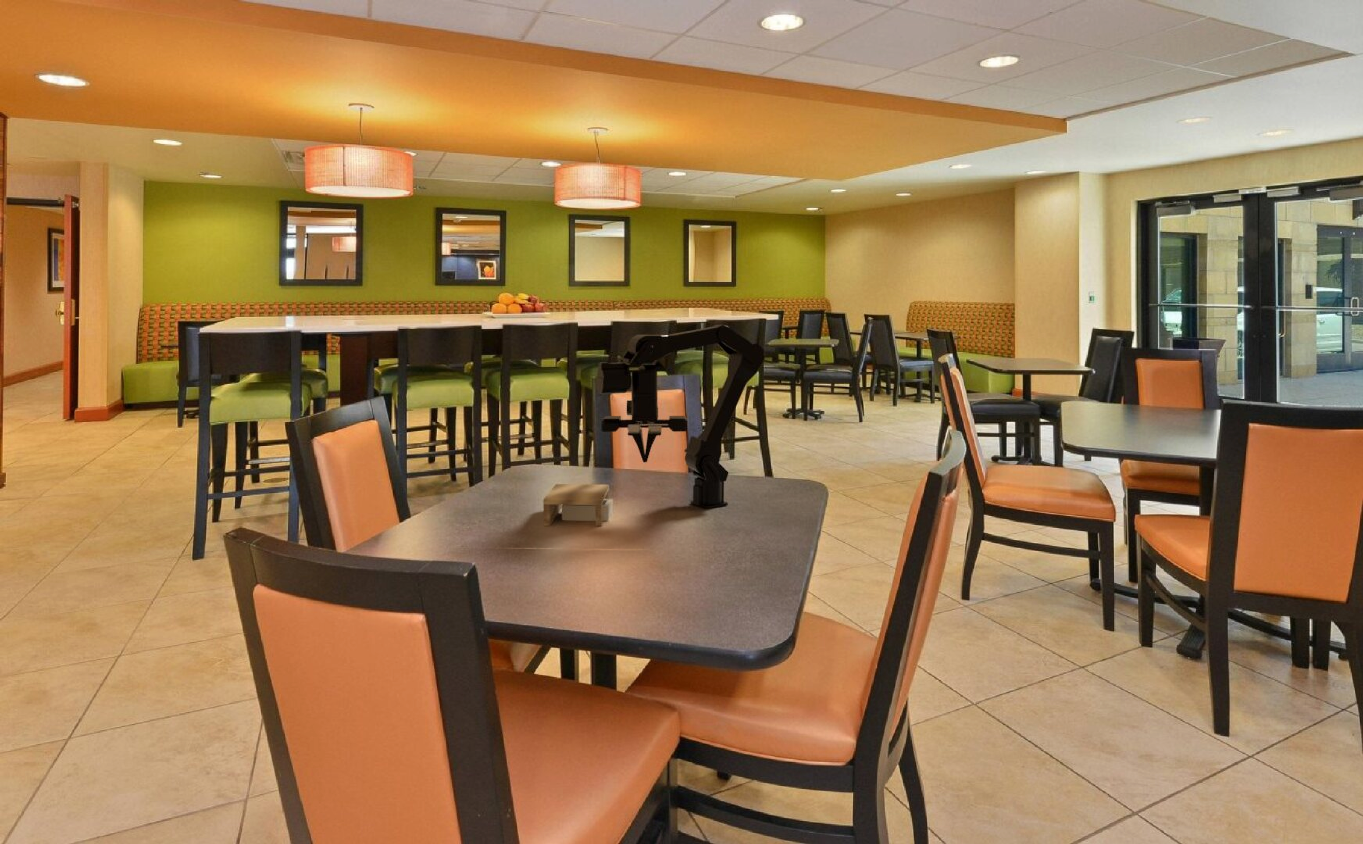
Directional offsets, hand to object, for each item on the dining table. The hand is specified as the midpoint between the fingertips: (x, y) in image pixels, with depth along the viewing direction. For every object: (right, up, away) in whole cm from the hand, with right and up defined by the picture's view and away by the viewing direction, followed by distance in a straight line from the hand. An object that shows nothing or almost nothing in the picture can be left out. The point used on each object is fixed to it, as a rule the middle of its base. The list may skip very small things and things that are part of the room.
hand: (645, 462), depth 172 cm
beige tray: (-12, -12, -4) cm, 18 cm away
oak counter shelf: (-14, -12, -5) cm, 19 cm away
